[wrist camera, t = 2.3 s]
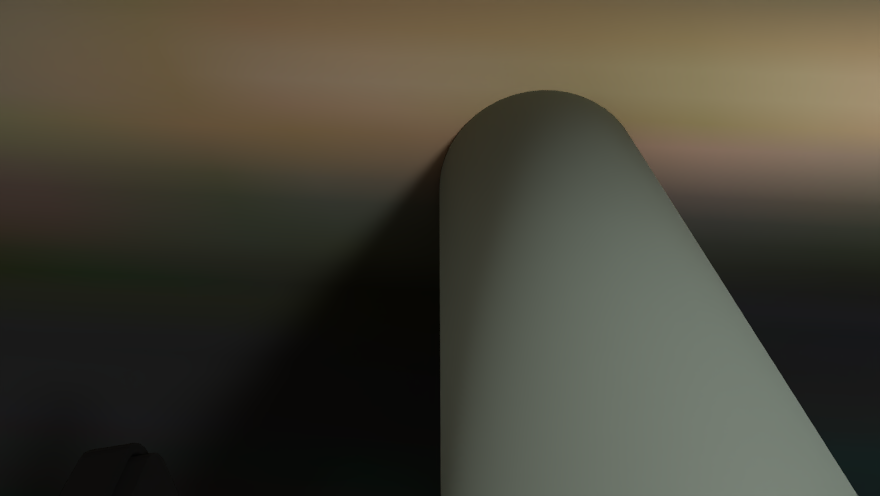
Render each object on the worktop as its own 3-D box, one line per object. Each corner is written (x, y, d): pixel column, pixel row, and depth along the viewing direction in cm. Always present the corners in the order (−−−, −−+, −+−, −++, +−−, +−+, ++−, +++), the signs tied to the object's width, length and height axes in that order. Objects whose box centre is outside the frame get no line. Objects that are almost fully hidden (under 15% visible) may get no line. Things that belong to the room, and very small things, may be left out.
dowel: (633, 73, 15) (1110, 656, 4) (647, 259, 17) (1009, 997, 6) (422, 110, 15) (386, 740, 5) (457, 289, 17) (491, 1041, 6)
